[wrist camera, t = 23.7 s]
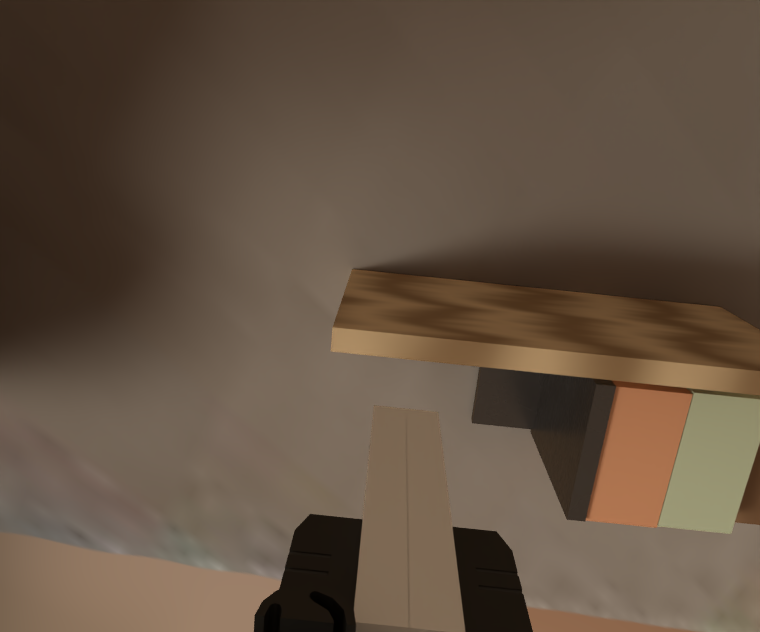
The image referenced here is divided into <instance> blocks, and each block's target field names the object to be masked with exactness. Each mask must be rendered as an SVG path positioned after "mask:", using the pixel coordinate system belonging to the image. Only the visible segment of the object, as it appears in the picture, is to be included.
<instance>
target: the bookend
mask: <svg viewBox="0 0 760 632" xmlns="http://www.w3.org/2000/svg"><path fill="white" fill-rule="evenodd" d="M615 390H616V385H615V384H614V383H613V382H612V380H605V379H595V378H585V377H575V376H566V375H556V374H546V373H537V372H527V371H517V370H507V369H498V368H488V367H480V368H479V374H478V380H477V387H476V393H475V400H474V406H473V412H472V423H476V424H486V425H496V426H505V427H515V428H525V429H531V434H532V437H533V439H534V441H535V444H536V446H537V449H538V451H539V453H540V456H541V458H542V461H543V463H544V465H545V468H546V470H547V473H548V475H549V478H550V480H551V482H552V485H553V487H554V490H555V492H556V494H557V497H558V499H559V502H560V504H561V507H562V509H563V511H564V514H565V516H566V519H567V520H577V521H585V520H586V516H587V512H588V507H589V503H590V498H591V494H592V490H593V485H594V481H595V477H596V472H597V468H598V464H599V459H600V455H601V451H602V446H603V442H604V438H605V433H606V429H607V425H608V420H609V416H610V412H611V407H612V403H613V399H614V394H615Z"/></svg>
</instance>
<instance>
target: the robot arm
mask: <svg viewBox="0 0 760 632" xmlns="http://www.w3.org/2000/svg"><path fill="white" fill-rule="evenodd" d="M254 632H533V630H532V626H531V623H530V619H529V615H528V611H527V607H526V603H525V599H524V595H523V594H522V587H521V584H520V580H519V576H517V568H516V564H515V560H514V556H513V552H512V550H511V549H510V548H509V546H508V545H507V544H506V543H505V541H504V540H503V539H502V538H501V536H500V535H499V534H498V533H497V532H496V531H487V530H477V529H467V528H458V527H452V520H451V512H450V504H449V496H448V488H447V480H446V472H445V464H444V456H443V448H442V440H441V432H440V424H439V415H438V412H433V411H423V410H414V409H404V408H394V407H385V406H375V405H374V411H373V420H372V430H371V440H370V449H369V459H368V469H367V478H366V488H365V498H364V507H363V517H362V519H353V518H343V517H334V516H324V515H314V514H310V515H309V516H308V517H307V518H306V519H305V520H304V521H303V522H302V523H301V524H300V525H299V526H298V527H297V528H296V530H295V532H294V535H293V539H292V543H291V547H290V552H289V555H288V558H287V562H286V566H285V571H284V574H283V577H282V581H281V585H280V589H279V590H277V591H275V592H274V593H273V594H272V595H270V596H269V597H268V598H266V599H265V600H264V601H263V602H262V603H261V605H260V607H259V609H258V610H257V612H256V614H255V621H254Z"/></svg>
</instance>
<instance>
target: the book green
mask: <svg viewBox="0 0 760 632" xmlns="http://www.w3.org/2000/svg"><path fill="white" fill-rule="evenodd" d="M687 389H688V390H689V391H690V392H691V393H692V394H693V395H692V399H691V403H690V407H689V410H688V414H687V418H686V421H685V425H684V429H683V432H682V436H681V440H680V443H679V447H678V451H677V454H676V458H675V462H674V465H673V469H672V473H671V476H670V480H669V484H668V488H667V491H666V495H665V499H664V502H663V506H662V510H661V513H660V517H659V521H658V524H657V525H658V526H660V527H669V528H679V529H689V530H698V531H708V532H718V533H727V534H731V532H732V529H733V526H734V523H735V520H736V516H737V513H738V510H739V507H740V504H741V501H742V497H743V494H744V491H745V488H746V485H747V482H748V478H749V475H750V472H751V469H752V466H753V463H754V459H755V456H756V453H757V450H758V447H759V444H760V395H750V394H741V393H731V392H721V391H711V390H702V389H692V388H687Z"/></svg>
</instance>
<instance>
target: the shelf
mask: <svg viewBox="0 0 760 632" xmlns="http://www.w3.org/2000/svg"><path fill="white" fill-rule="evenodd" d="M331 351H333V352H342V353H352V354H362V355H371V356H381V357H391V358H401V359H410V360H420V361H430V362H439V363H449V364H459V365H469V366H478V367H488V368H498V369H507V370H517V371H527V372H537V373H546V374H556V375H566V376H575V377H585V378H595V379H605V380H614V381H624V382H634V383H643V384H653V385H663V386H673V387H682V388H692V389H702V390H711V391H721V392H731V393H741V394H750V395H760V330H759V329H757V328H756V327H754V326H752V325H751V324H749V323H747V322H745V321H744V320H742V319H740V318H739V317H737V316H735V315H733V314H732V313H730V312H728V311H727V310H725V309H723V308H721V307H717V306H708V305H698V304H688V303H678V302H669V301H659V300H649V299H639V298H630V297H620V296H610V295H600V294H591V293H581V292H571V291H561V290H552V289H542V288H532V287H522V286H513V285H503V284H493V283H483V282H474V281H464V280H454V279H444V278H434V277H425V276H415V275H405V274H395V273H386V272H376V271H366V270H356V269H352V271H351V274H350V277H349V280H348V283H347V286H346V289H345V292H344V295H343V298H342V301H341V304H340V307H339V310H338V313H337V316H336V319H335V322H334V325H333V330H332V343H331ZM735 522H738V523H747V524H757V525H760V444H759V447H758V450H757V453H756V456H755V459H754V463H753V466H752V469H751V472H750V475H749V478H748V482H747V485H746V488H745V491H744V494H743V497H742V501H741V504H740V507H739V510H738V513H737V516H736V520H735Z"/></svg>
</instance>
